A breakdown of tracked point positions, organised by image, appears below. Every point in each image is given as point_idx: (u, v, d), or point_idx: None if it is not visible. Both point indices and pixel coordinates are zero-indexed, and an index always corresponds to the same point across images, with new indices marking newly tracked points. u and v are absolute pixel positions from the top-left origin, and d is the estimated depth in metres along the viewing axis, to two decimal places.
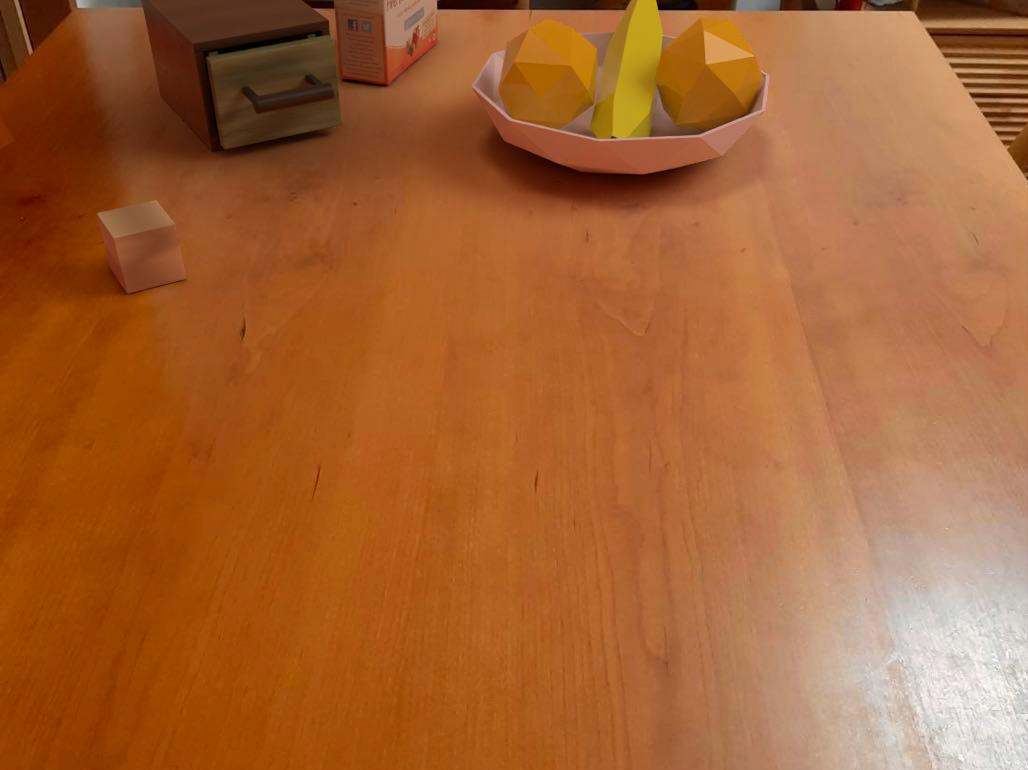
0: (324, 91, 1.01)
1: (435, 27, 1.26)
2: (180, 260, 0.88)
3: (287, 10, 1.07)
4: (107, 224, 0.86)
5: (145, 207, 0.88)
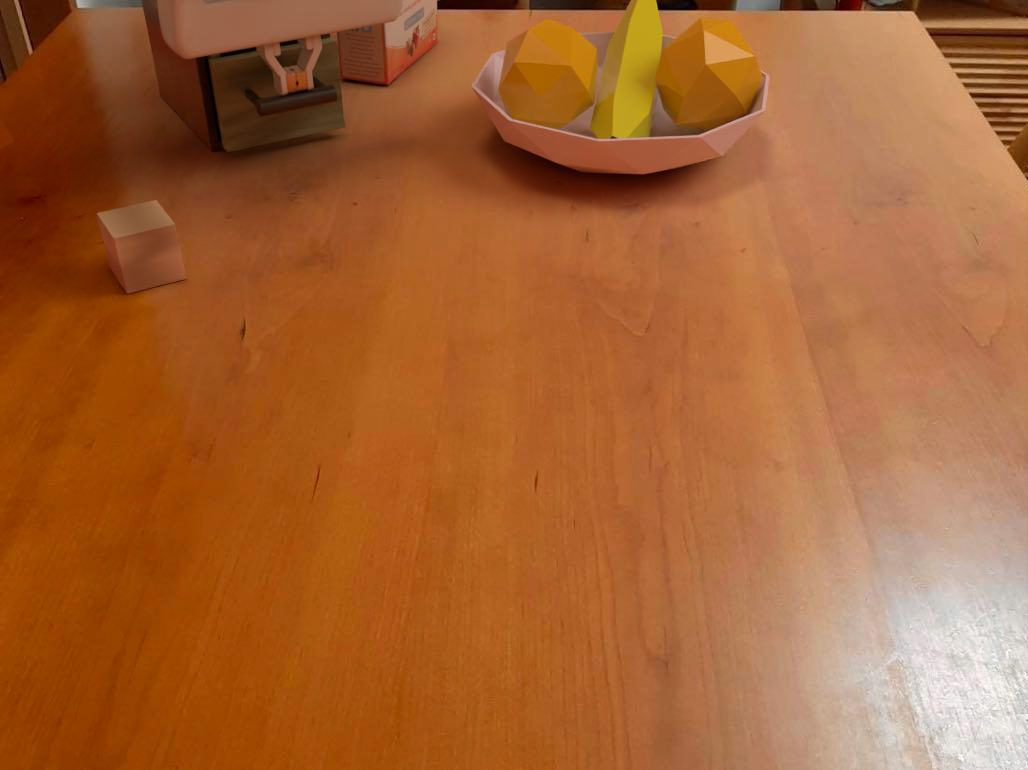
0: (327, 94, 1.01)
1: (435, 27, 1.26)
2: (180, 260, 0.88)
3: None
4: (107, 224, 0.86)
5: (145, 207, 0.88)
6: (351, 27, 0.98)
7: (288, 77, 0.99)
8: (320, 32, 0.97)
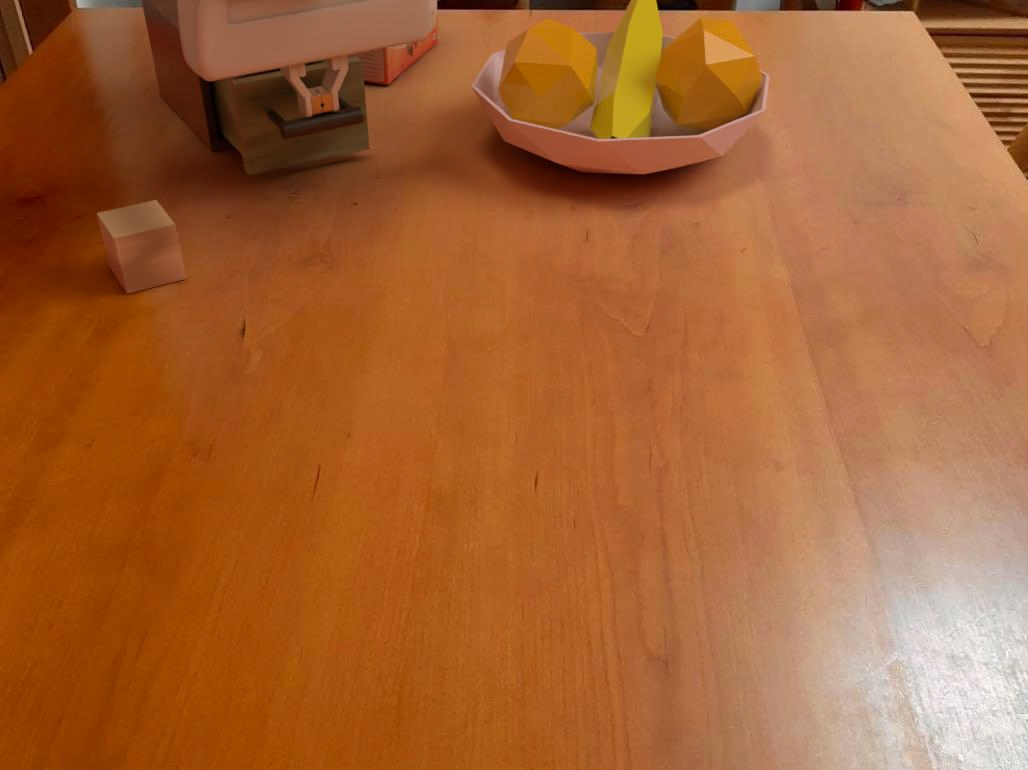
0: (353, 115, 0.97)
1: (435, 27, 1.26)
2: (180, 260, 0.88)
3: None
4: (107, 224, 0.86)
5: (145, 207, 0.88)
6: (378, 47, 0.94)
7: (313, 98, 0.95)
8: (347, 53, 0.93)
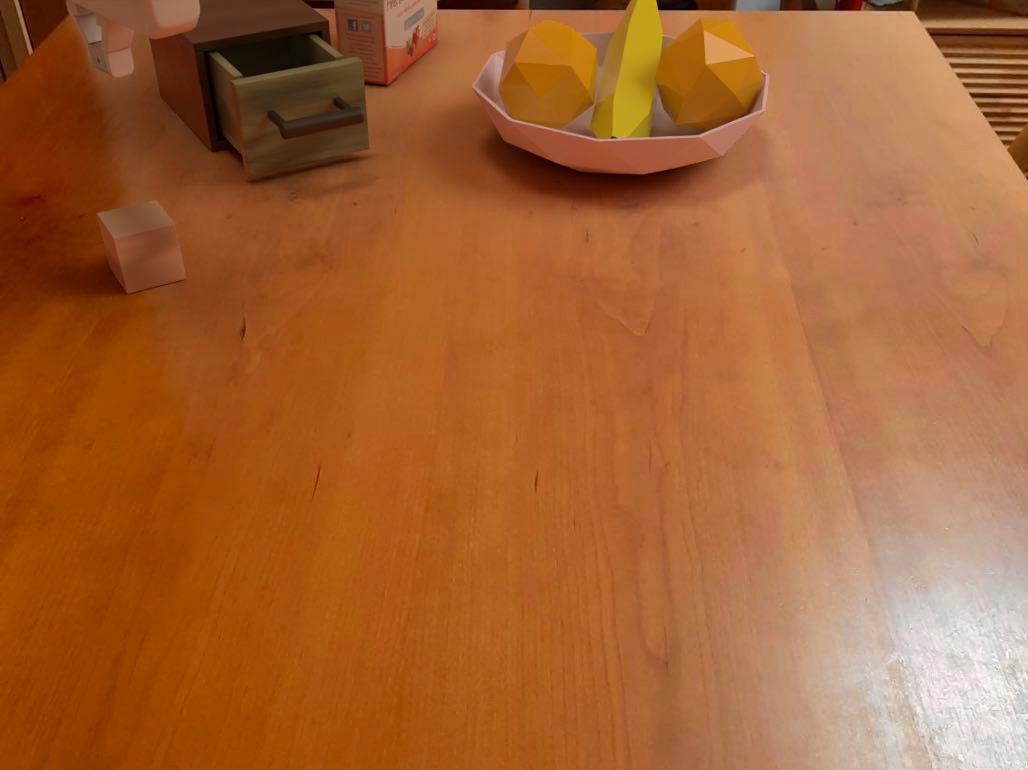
0: (353, 116, 0.97)
1: (435, 27, 1.26)
2: (180, 260, 0.88)
3: (287, 10, 1.07)
4: (107, 224, 0.86)
5: (145, 207, 0.88)
6: (113, 20, 0.74)
7: (93, 48, 0.79)
8: (90, 8, 0.75)
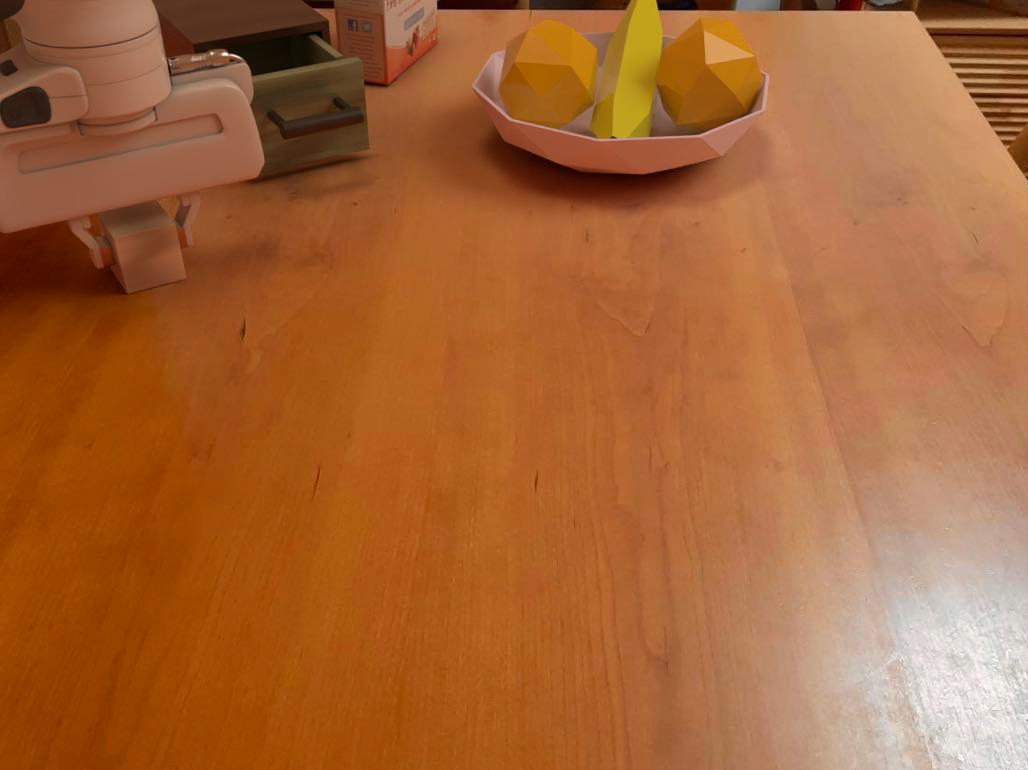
0: (353, 116, 0.97)
1: (435, 27, 1.26)
2: (180, 260, 0.88)
3: (287, 10, 1.07)
4: (107, 224, 0.86)
5: (145, 207, 0.88)
6: (203, 188, 0.86)
7: (104, 249, 0.86)
8: (166, 195, 0.85)
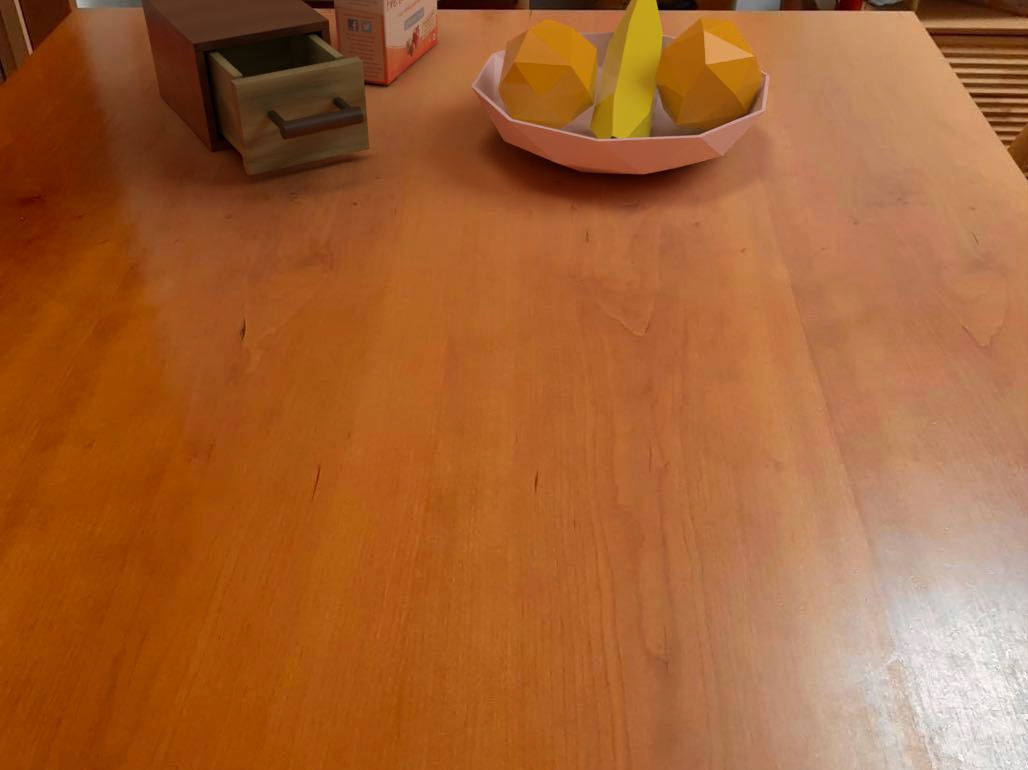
0: (353, 116, 0.97)
1: (435, 27, 1.26)
2: None
3: (287, 10, 1.07)
4: None
5: None
6: None
7: None
8: None
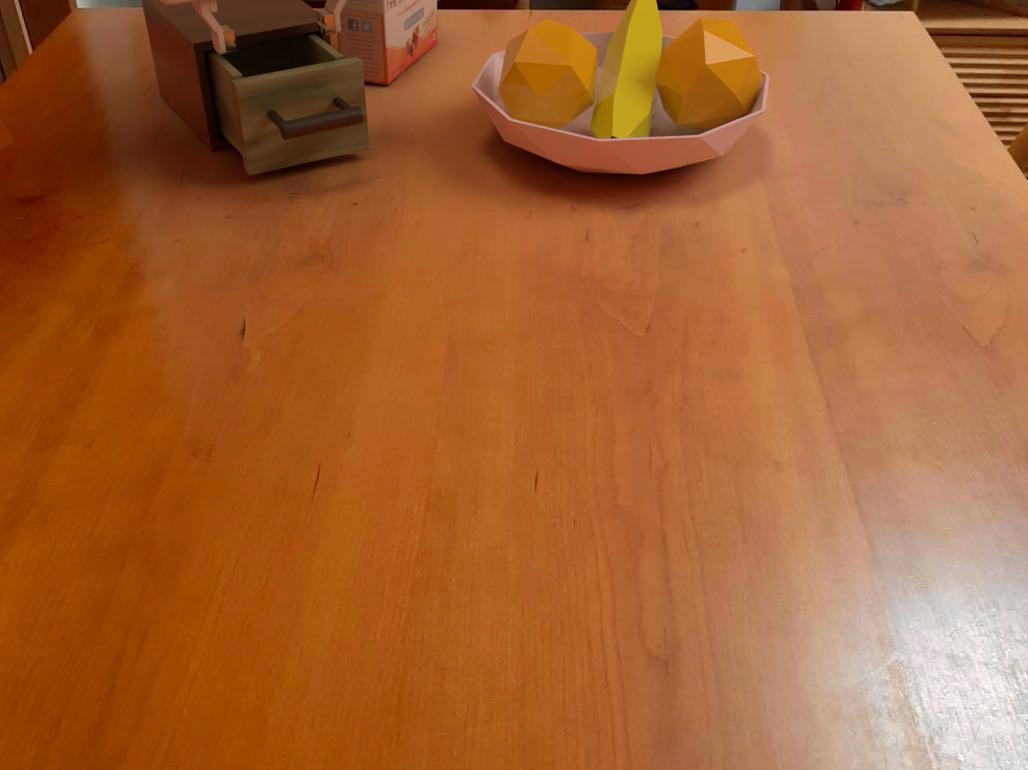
0: (353, 116, 0.97)
1: (435, 27, 1.26)
2: None
3: (287, 10, 1.07)
4: None
5: None
6: None
7: (226, 35, 0.96)
8: None
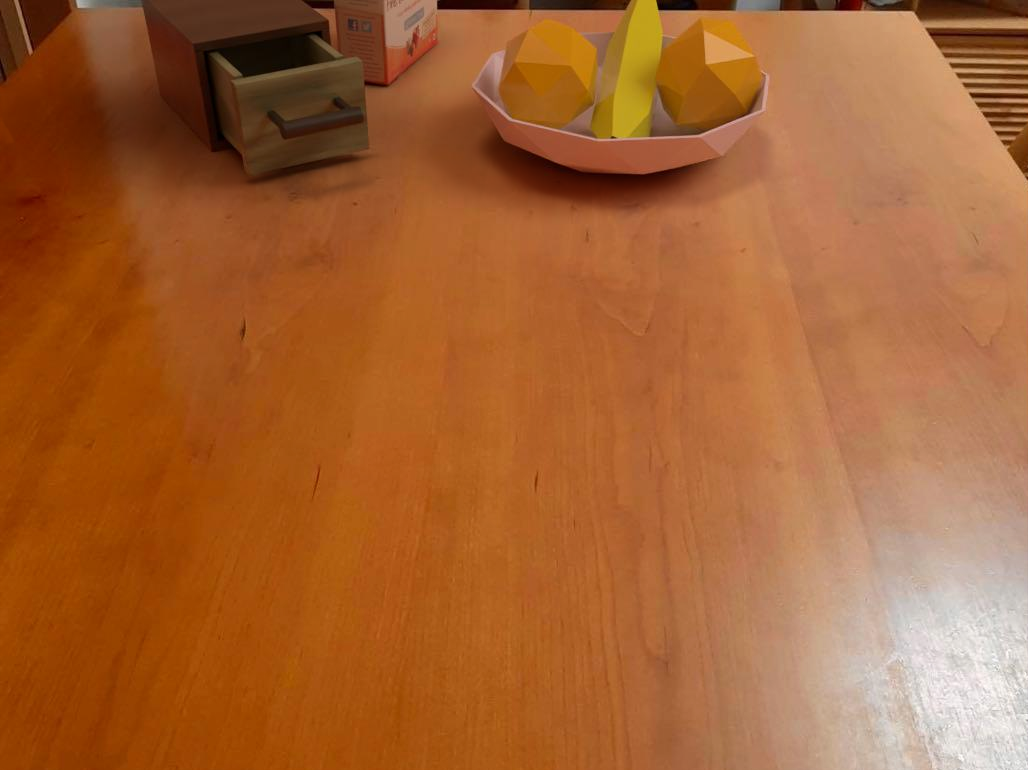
0: (353, 116, 0.97)
1: (435, 27, 1.26)
2: None
3: (287, 10, 1.07)
4: None
5: None
6: None
7: None
8: None
